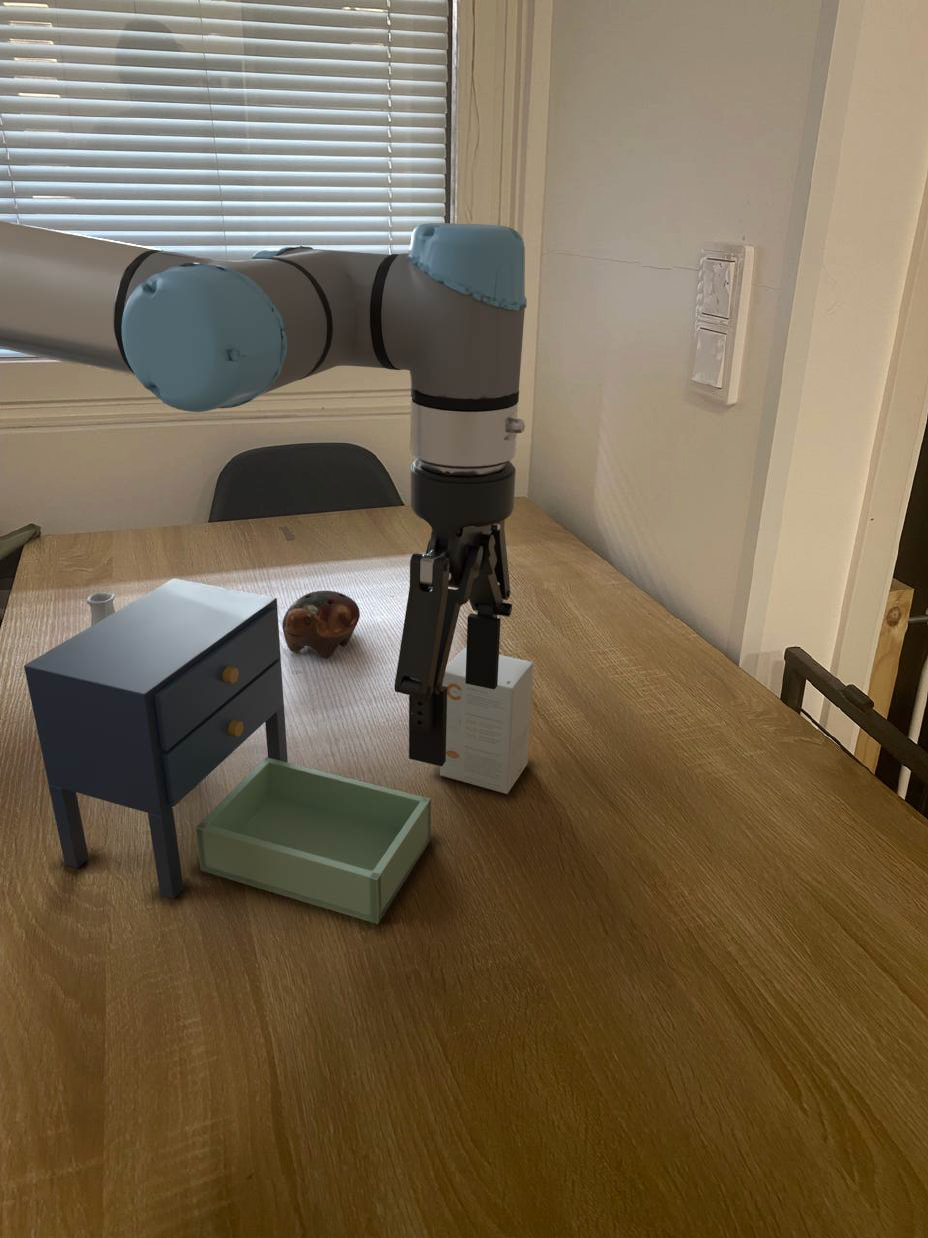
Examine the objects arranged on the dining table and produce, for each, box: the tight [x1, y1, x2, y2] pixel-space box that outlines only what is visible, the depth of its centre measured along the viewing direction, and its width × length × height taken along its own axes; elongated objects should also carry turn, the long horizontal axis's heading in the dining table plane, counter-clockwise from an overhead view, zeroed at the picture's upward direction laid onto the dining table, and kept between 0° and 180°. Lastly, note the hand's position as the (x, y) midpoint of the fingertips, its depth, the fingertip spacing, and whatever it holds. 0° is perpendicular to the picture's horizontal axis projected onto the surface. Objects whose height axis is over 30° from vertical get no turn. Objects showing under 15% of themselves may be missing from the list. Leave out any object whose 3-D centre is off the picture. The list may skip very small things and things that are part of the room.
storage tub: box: [195, 756, 432, 925], centre depth 85 cm, size 18×12×5 cm, turn 70°
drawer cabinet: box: [23, 577, 289, 899], centre depth 86 cm, size 13×20×21 cm
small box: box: [439, 646, 534, 795], centre depth 96 cm, size 8×6×13 cm
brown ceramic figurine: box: [281, 590, 361, 660], centre depth 123 cm, size 10×15×8 cm, turn 163°
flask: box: [86, 591, 116, 627], centre depth 115 cm, size 7×7×10 cm
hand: (456, 720), depth 74 cm, fingers open, 12 cm apart
